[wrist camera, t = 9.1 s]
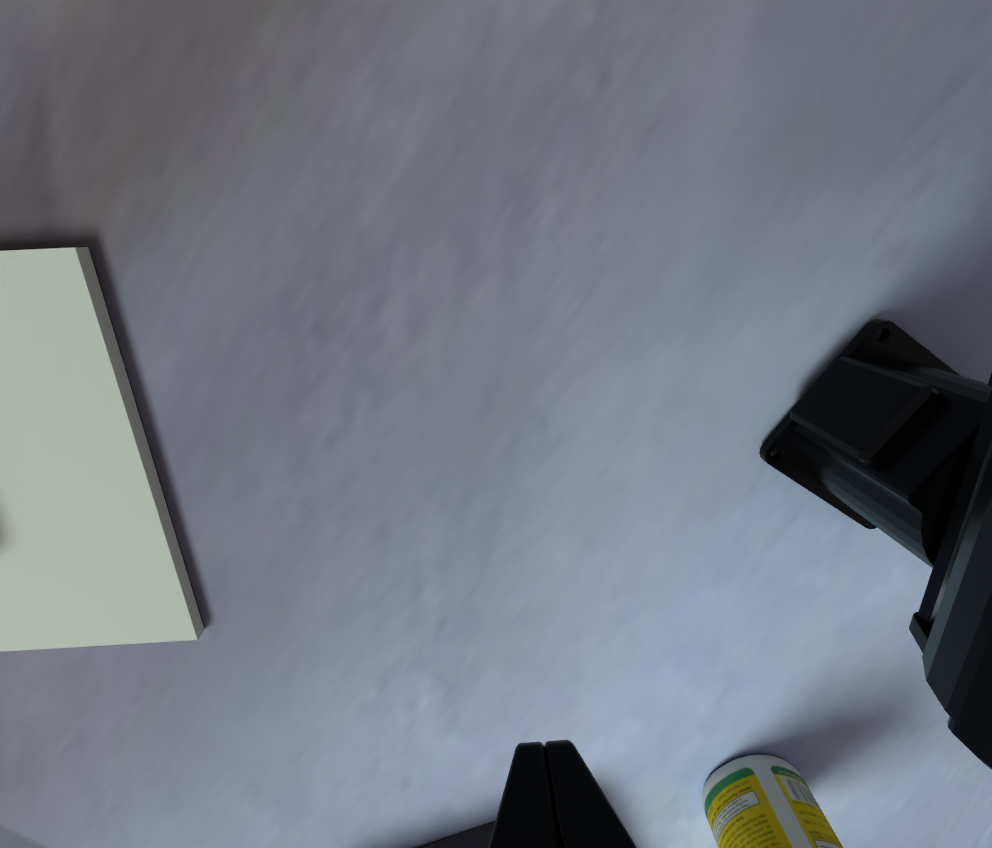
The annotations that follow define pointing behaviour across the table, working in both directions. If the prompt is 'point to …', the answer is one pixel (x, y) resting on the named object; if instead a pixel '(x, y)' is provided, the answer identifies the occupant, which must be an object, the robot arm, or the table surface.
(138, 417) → the mat
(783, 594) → the table surface
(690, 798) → the table surface
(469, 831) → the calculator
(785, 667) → the table surface
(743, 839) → the supplement bottle
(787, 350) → the table surface
